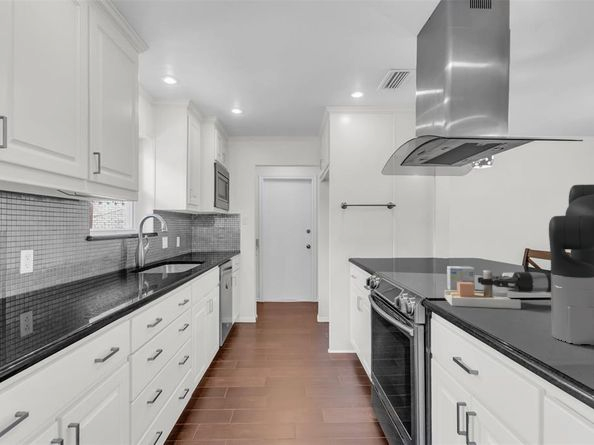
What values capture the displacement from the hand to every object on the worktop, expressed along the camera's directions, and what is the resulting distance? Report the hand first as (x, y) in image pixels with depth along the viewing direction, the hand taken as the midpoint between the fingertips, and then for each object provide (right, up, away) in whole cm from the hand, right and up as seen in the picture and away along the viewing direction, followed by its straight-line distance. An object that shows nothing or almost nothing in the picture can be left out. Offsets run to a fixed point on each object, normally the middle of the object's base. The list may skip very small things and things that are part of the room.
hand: (479, 280), depth 128 cm
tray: (0, -8, 0) cm, 9 cm away
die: (+27, -8, +22) cm, 36 cm away
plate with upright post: (-2, -7, +1) cm, 7 cm away
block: (-5, -6, +1) cm, 8 cm away
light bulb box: (+4, -9, +24) cm, 26 cm away
